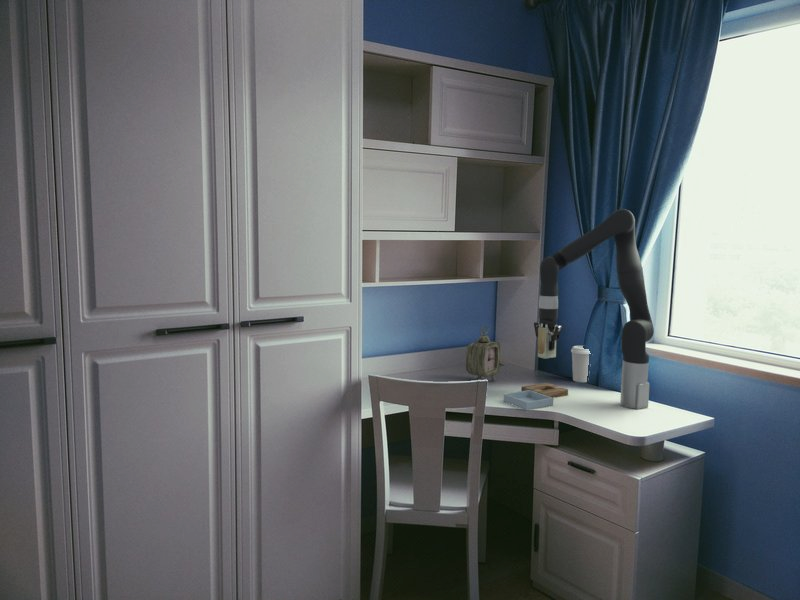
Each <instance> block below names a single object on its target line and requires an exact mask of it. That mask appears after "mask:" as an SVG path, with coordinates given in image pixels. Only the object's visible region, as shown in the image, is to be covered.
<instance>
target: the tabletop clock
mask: <svg viewBox="0 0 800 600" xmlns="http://www.w3.org/2000/svg"><path fill="white" fill-rule="evenodd" d="M483 328H487V330H486V331H483V332H482V330H483ZM489 329H490V328H489V326H488V325H487V324H484V325H482V326H481V327H480V329H479V334H480V335H481V336H479V337H478V339H477V341H476V340H475V341H473V342H471V343H469V344H468V345H467V347H466V353H465V355H466V356H465V370H466V372H467V373H468V374H470V375H473V376H477V377H476V379H475V381H476V380H478V379H481V380H482V377H485V378H488V377H491V381H492V380H495V381H496V377H495V376H494V375H496V374H498V372H499V369H500V364H501V344H500V343H499V342H497V341H491V340H490V337H489V336H488V333H489Z"/></svg>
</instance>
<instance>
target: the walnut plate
mask: <svg viewBox="0 0 800 600" xmlns="http://www.w3.org/2000/svg"><path fill="white" fill-rule="evenodd" d="M520 390H521V391H527V390H531V391H534V392H537V393H540V394H543V395H545V396H548V397H551V398H553V399H554V397H555V398H560V397H567V396H569V389H568V388H565V387H562V386H559V385H555V384H552V383H549V382H545V383H544V382H543V383H536V384H530V385H529V384H528V385H522V386H521V389H520Z"/></svg>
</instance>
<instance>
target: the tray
mask: <svg viewBox="0 0 800 600" xmlns="http://www.w3.org/2000/svg"><path fill="white" fill-rule="evenodd" d="M502 399H503V401H505V402H504V403H506V402H507V403H506V404H508V403H510V404H509V405H511V404H513V405H512V406H514V405H515V406H514V407H516V406H517V407H516V408H519V407H520V409H521V408H522V410H524V411H532V410H537V409H543V408H548V407H549V406H550V407H554V398H551V397H548V396H545V395H543V394H540V393H537V392H534V391H531V390H527V391H514V392H509V393H508V392H507V393H503V398H502ZM503 401H502V402H503ZM550 407H549V408H550Z"/></svg>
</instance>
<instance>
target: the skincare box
mask: <svg viewBox="0 0 800 600" xmlns="http://www.w3.org/2000/svg"><path fill="white" fill-rule="evenodd" d="M553 332H554V331H553ZM553 332H550V333H553ZM551 336H552V338H553V335H551ZM537 357H538V358H541V359H552V358H557V340H556V341H555V348H554V350H549V335H548V328H545V327H538V337H537Z"/></svg>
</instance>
